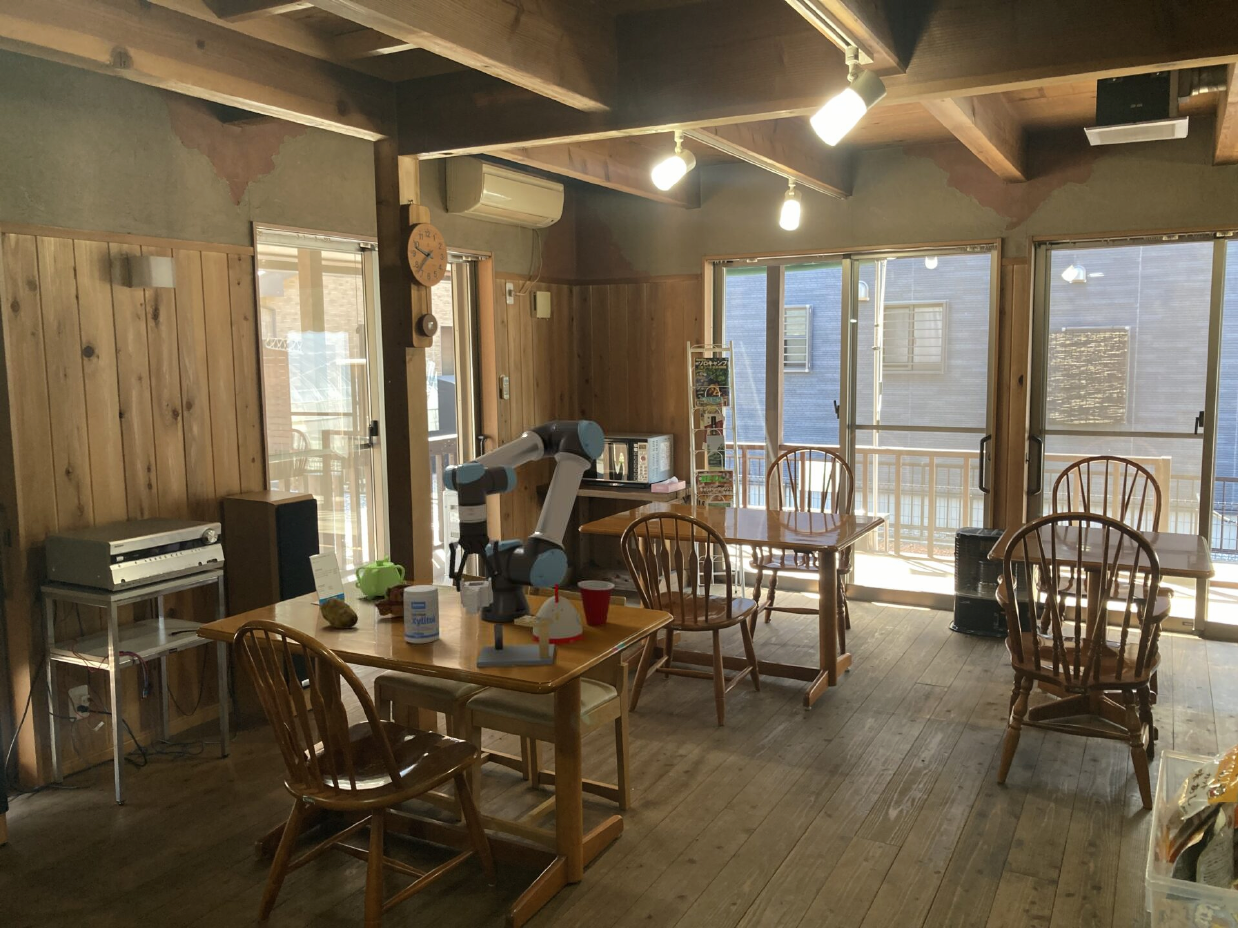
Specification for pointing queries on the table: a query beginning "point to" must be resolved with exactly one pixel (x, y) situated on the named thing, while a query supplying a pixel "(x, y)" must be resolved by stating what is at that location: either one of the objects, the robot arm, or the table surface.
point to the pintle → (498, 636)
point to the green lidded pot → (379, 578)
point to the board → (514, 656)
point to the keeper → (543, 631)
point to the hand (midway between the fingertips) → (477, 602)
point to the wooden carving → (393, 601)
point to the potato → (338, 613)
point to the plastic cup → (595, 601)
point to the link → (475, 596)
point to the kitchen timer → (560, 620)
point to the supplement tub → (421, 614)
